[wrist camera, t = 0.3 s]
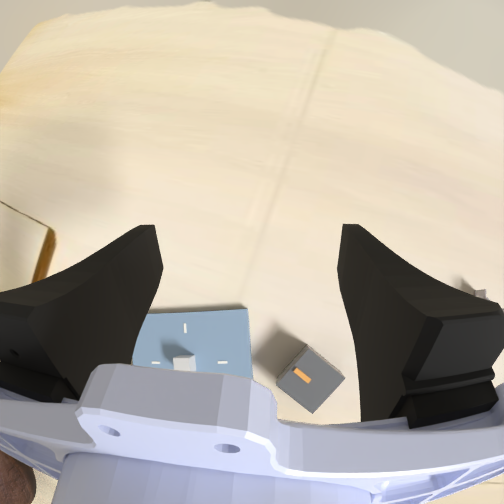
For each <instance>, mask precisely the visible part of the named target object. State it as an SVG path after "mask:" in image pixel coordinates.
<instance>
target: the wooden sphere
mask: <svg viewBox="0 0 504 504" xmlns="http://www.w3.org/2000/svg"><path fill="white" fill-rule="evenodd" d="M35 494H36V479H35V475H34V472H33V470H32V468H31V467H30V466H28V465H26V464H25V463H23V462H21V461H19V460H17V459H15V458H14V457H12V456H10V455H8V454H6V453H5V452H3V451H1V450H0V504H31V503H32V501H33V499H34V497H35Z"/></svg>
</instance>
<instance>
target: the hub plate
mask: <svg viewBox="0 0 504 504" xmlns="http://www.w3.org/2000/svg"><path fill="white" fill-rule="evenodd" d="M132 358H133V365H136V366H144V367H153V368H162V369H172V370H183V371H195V372H210V373H226V374H231V375H236V376H242V377H247V378H250V379H252V380H253V370H252V357H251V344H250V331H249V318H248V309H237V310H221V311H204V312H184V313H159V314H147V315H146V318H145V320H144V322H143V325H142V327H141V329H140V332H139V335H138V338H137V341H136V345H135V348H134V352H133V356H132Z"/></svg>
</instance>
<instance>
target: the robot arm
mask: <svg viewBox="0 0 504 504" xmlns="http://www.w3.org/2000/svg"><path fill="white" fill-rule="evenodd" d="M162 272H163V263H162V259H161V254H160V249H159V245H158V240H157V235H156V230H155V225H139V226H137V227H135V228H133V229H132V230H130V231H128V232H127V233H125V234H123V235H122V236H120V237H119V238H117V239H116V240H114V241H113V242H111V243H110V244H108V245H107V246H105V247H103V248H102V249H100V250H99V251H97V252H95V253H94V254H92V255H91V256H89V257H87V258H86V259H84V260H82V261H81V262H79V263H77V264H75V265H73V266H71V267H69V268H67V269H65V270H63V271H61V272H59V273H57V274H54V275H52V276H50V277H47V278H45V279H43V280H40V281H37V282H35V283H32V284H29V285H26V286H23V287H20V288H16V289H12V290H8V291H4V292H0V450H1V451H3V452H5V453H6V454H8V455H10V456H12V457H14V458H15V459H17V460H19V461H21V462H23V463H25V464H26V465H28V466H30V467H32V468H34V469H36V470H38V471H40V472H42V473H44V474H46V475H48V476H50V477H52V478H55V479H57V480H58V483H57V486H56V490H55V493H54V496H53V499H52V503H51V504H424V503H427V502H430V501H433V500H436V499H439V498H442V497H445V496H448V495H451V494H454V493H456V492H459V491H462V490H464V489H467V488H469V487H472V486H475V485H477V484H480V483H482V482H484V481H487V480H489V479H492V478H494V477H496V476H499V475H501V474H503V473H504V383H502V384H500V385H498V386H497V387H496V388H494V386H493V384H492V381H491V380H493V379H494V377H495V373H494V371H493V369H492V365H493V364H494V362H495V361H496V359H497V358H498V356H499V355H500V353H501V352H502V350H503V349H504V312H503V310H502V308H501V307H500V305H499V304H498V303H496V302H492V301H489V300H486V299H483V298H479V297H476V296H473V295H470V294H468V293H465V292H463V291H460V290H458V289H455V288H453V287H451V286H449V285H446V284H444V283H442V282H440V281H438V280H436V279H434V278H433V277H431V276H429V275H427V274H425V273H424V272H422V271H421V270H419V269H417V268H416V267H414V266H412V265H411V264H409V263H408V262H406V261H405V260H404V259H402V258H401V257H400V256H398V255H397V254H395V253H394V252H393V251H392V250H390V249H389V248H388V247H386V246H385V245H384V244H383V243H381V242H380V241H379V240H378V239H377V238H375V237H374V236H373V235H372V234H371V233H369V232H368V231H367V230H366V229H364V228H363V227H362V226H360V225H359V224H343V227H342V235H341V243H340V251H339V259H338V266H337V272H338V279H339V286H340V291H341V295H342V299H343V302H344V306H345V310H346V313H347V317H348V320H349V324H350V328H351V331H352V335H353V340H354V345H355V352H356V359H357V368H358V378H359V390H360V409H361V422H357V423H345V424H329V425H318V424H310V423H302V422H295V421H288V420H282V419H277V401H276V400H275V398H274V395H273V393H272V391H271V390H270V389H268V388H267V387H265V386H263V385H261V384H259V383H258V382H256V381H254V380H252V379H250V378H247V377H242V376H236V375H231V374H226V373H210V372H195V371H183V370H172V369H162V368H153V367H144V366H136V365H130V364H131V360H132V356H133V352H134V348H135V345H136V341H137V338H138V335H139V332H140V329H141V327H142V325H143V322H144V320H145V318H146V315H147V313H148V311H149V308H150V306H151V304H152V301H153V299H154V297H155V294H156V292H157V289H158V286H159V283H160V279H161V276H162Z"/></svg>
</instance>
